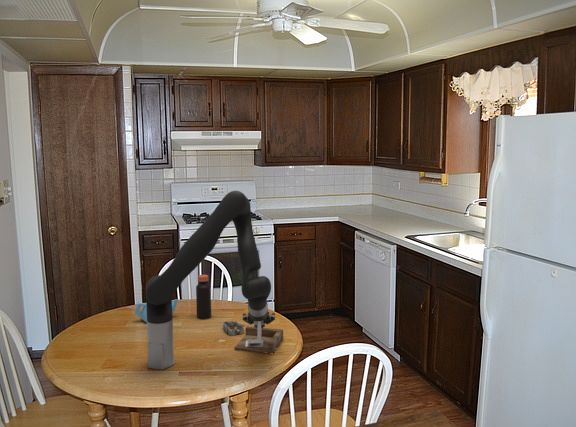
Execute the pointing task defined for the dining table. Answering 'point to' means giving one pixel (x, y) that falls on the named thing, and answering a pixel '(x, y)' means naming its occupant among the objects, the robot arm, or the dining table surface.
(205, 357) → the dining table surface
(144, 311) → the teapot
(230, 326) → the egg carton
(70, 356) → the dining table surface
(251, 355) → the dining table surface
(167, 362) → the robot arm
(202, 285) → the bottle
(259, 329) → the bracket
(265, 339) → the arena
